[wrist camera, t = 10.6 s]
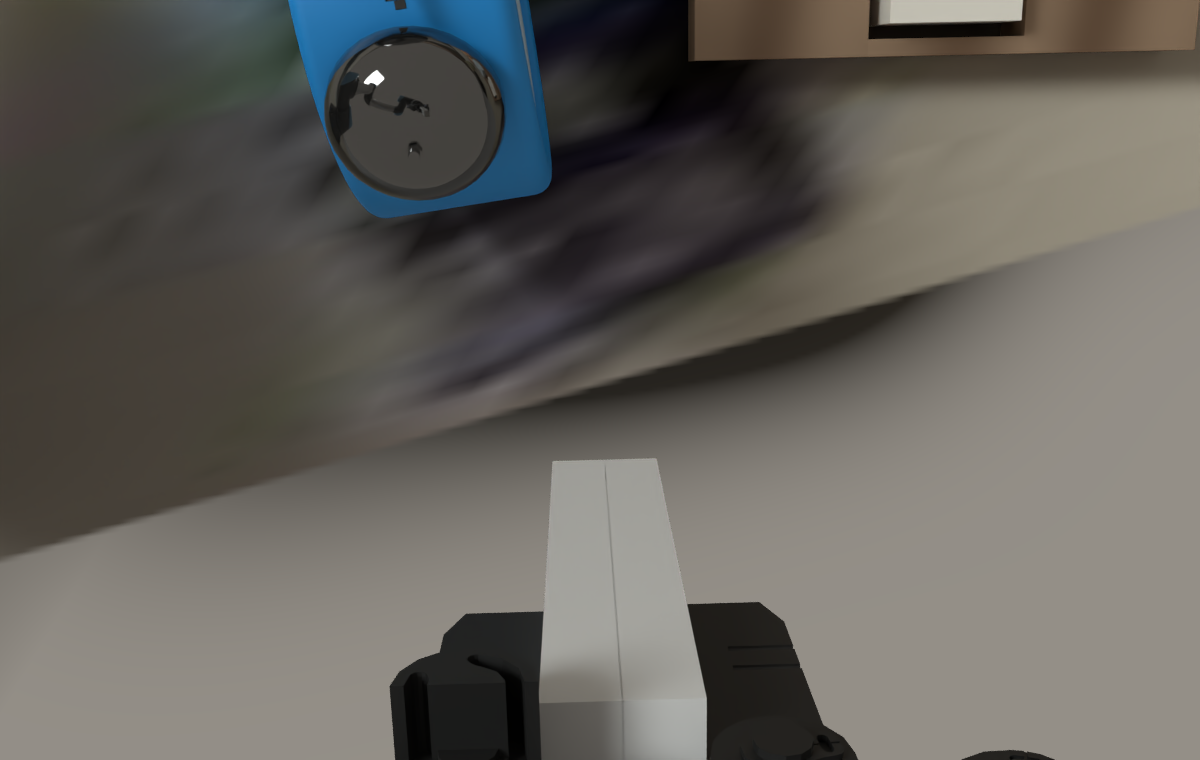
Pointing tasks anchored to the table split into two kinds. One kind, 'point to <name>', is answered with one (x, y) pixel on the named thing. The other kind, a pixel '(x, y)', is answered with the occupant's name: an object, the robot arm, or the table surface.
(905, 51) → the board
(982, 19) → the tile
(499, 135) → the alarm clock
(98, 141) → the table surface
